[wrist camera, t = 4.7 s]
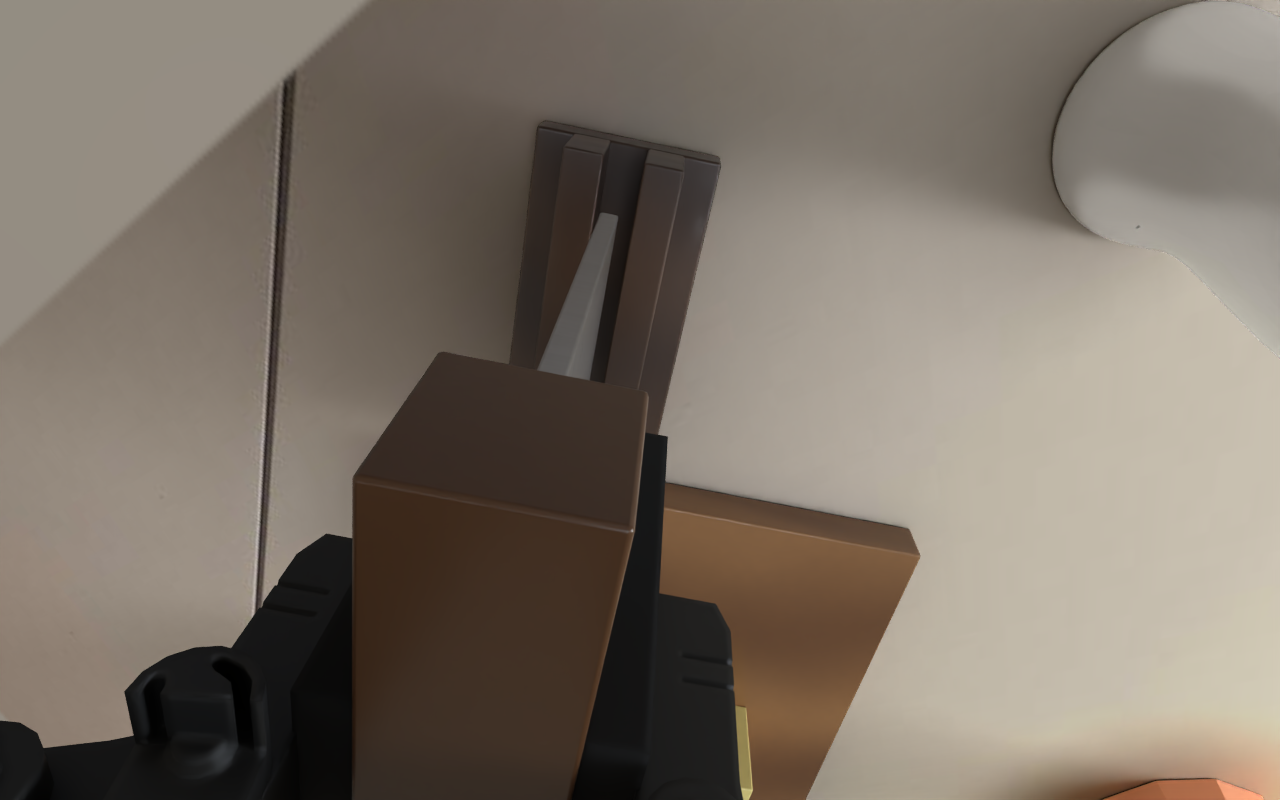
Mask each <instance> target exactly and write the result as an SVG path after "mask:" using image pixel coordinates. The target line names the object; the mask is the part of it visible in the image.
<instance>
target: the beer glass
mask: <svg viewBox="0 0 1280 800" xmlns="http://www.w3.org/2000/svg"><path fill="white" fill-rule="evenodd" d="M1052 167H1053V175H1054V180H1055V184H1056V187H1057V190H1058V193H1059V195H1060V197H1061V199H1062V201H1063V203H1064V205H1065V206H1066V208H1067V209H1068V211H1069V212H1070V213H1071V215H1072V216H1073V217H1074V218H1075V219H1076V220H1077V221H1078V222H1079V223H1080V224H1082V225H1083V226H1084V227H1085V228H1087V229H1088V230H1090V231H1091V232H1093V233H1095V234H1097V235H1099V236H1101V237H1103V238H1106V239H1108V240H1111V241H1114V242H1117V243H1121V244H1125V245H1129V246H1133V247H1138V248H1143V249H1149V250H1154V251H1159V252H1164V253H1167V254H1169V255H1171V256H1173V257H1174V258H1176V259H1177V260H1179V261H1180V262H1182V263H1183V264H1184V265H1185V266H1186V267H1187V268H1188V269H1189V270H1190V271H1191V272H1192V273H1193V274H1194V275H1195V276H1196V277H1198V278H1199V279H1200V280H1201V281H1202V283H1203V284H1204V285H1205V286H1206V287H1207V288H1208V289H1209V290H1210V291H1211V292H1212V293H1213V294H1214V295H1215V296H1216V297H1217V298H1218V299H1219V300H1220V302H1221V303H1222V304H1223V305H1224V306H1225V307H1226V308H1227V309H1228V310H1229V311H1230V312H1231V313H1232V314H1233V315H1234V316H1235V317H1236V318H1237V319H1238V320H1239V321H1240V322H1241V323H1242V324H1243V325H1244V326H1245V327H1246V328H1247V329H1248V330H1249V331H1250V332H1251V333H1252V334H1253V335H1254V336H1255V337H1256V338H1257V339H1258V340H1259V341H1260V342H1261V343H1262V344H1263V345H1264V346H1265V347H1266V348H1267V349H1269V350H1270V351H1271V352H1272V353H1273V354H1274V355H1275V356H1277V357H1278V358H1279V359H1280V16H1278V15H1275V14H1273V13H1270V12H1268V11H1266V10H1263V9H1260V8H1257V7H1254V6H1251V5H1248V4H1244V3H1240V2H1233V1H1220V0H1213V1H1201V2H1195V3H1189V4H1185V5H1181V6H1178V7H1175V8H1172V9H1169V10H1166V11H1164V12H1161V13H1159V14H1156V15H1154V16H1152V17H1150V18H1148V19H1146V20H1144V21H1142V22H1141V23H1139V24H1137V25H1135V26H1134V27H1132V28H1131V29H1129V30H1128V31H1126V32H1125V33H1123V34H1122V35H1121V36H1119V37H1118V38H1117V39H1116V40H1114V41H1113V42H1112V43H1111V44H1110V45H1109V46H1107V47H1106V48H1105V49H1104V50H1103V51H1102V52H1101V53H1100V54H1099V55H1098V56H1097V57H1096V58H1095V59H1094V61H1093V62H1092V63H1091V64H1090V65H1089V66H1088V68H1087V69H1086V70H1085V71H1084V73H1083V74H1082V75H1081V77H1080V78H1079V80H1078V81H1077V83H1076V84H1075V86H1074V88H1073V89H1072V91H1071V93H1070V95H1069V96H1068V98H1067V100H1066V102H1065V105H1064V107H1063V109H1062V112H1061V114H1060V117H1059V120H1058V123H1057V127H1056V131H1055V135H1054V140H1053V149H1052Z"/></svg>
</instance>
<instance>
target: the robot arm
mask: <svg viewBox="0 0 1280 800" xmlns="http://www.w3.org/2000/svg"><path fill="white" fill-rule="evenodd" d="M667 440H668V437H666V436H661V435H656V434H651V433H646V432H645V438H644V448H643V458H642V467H641V477H640V487H639V497H638V506H637V516H636V526H635V533H634V537H633V541H632V546H631V550H630V554H629V558H628V563H627V567H626V571H625V575H624V580H623V584H622V588H621V592H620V596H619V601H618V605H617V609H616V613H615V618H614V622H613V626H612V630H611V635H610V639H609V643H608V647H607V652H606V656H605V660H604V664H603V668H602V673H601V677H600V681H599V685H598V690H597V694H596V698H595V702H594V707H593V711H592V715H591V719H590V724H589V728H588V732H587V736H586V740H585V745H584V749H583V753H582V757H581V762H580V766H579V770H578V774H577V779H576V783H575V787H574V791H573V796H572V800H743V796H742V790H741V785H740V774H739V758H738V741H737V725H736V708H735V692H734V691H733V688H734V676H733V667H732V661H733V659H732V643H731V631H730V629H729V627H728V625H727V623H726V621H725V620H724V618H723V616H722V614H721V612H720V610H719V608H718V606H717V605H716V604H715V603H710V602H704V601H699V600H693V599H688V598H683V597H677V596H672V595H666V594H661V593H659V590H660V571H661V553H662V534H663V515H664V496H665V477H666V459H667ZM124 692H125V697H126V701H127V706H128V711H129V715H130V720H131V724H132V729H133V734H134V736H130V737H125V738H120V739H115V740H110V741H102V742H93V743H84V744H76V745H67V746H59V747H50V748H43V746H42V744H41V741H40V739H39V736H38V734H37V733H36V732H34V731H33V730H31V729H29V728H28V727H26V726H24V725H23V724H21V723H18V722H8V721H0V800H352V538H347V537H341V536H336V535H331V534H325V535H324V536H322V537H321V538H319V539H318V540H317V541H315V542H314V543H312V544H311V545H309V546H308V547H306V548H305V549H303V550H302V551H300V552H299V553H297V554H296V556H295V557H294V559H293V560H292V562H291V563H290V565H289V566H288V567H287V569H286V570H285V572H284V573H283V575H282V576H281V577H280V579H279V581H278V585H277V586H274V588H273V589H272V590H271V592H270V593H269V595H268V596H267V598H266V599H265V600H264V602H263V606H262V608H259V609H258V611H257V612H256V613H255V615H254V616H253V618H252V619H251V621H250V622H249V623H248V625H247V626H246V628H245V629H244V631H243V632H242V634H241V635H240V636H239V638H238V639H237V641H236V642H235V644H234V645H233V646H232V648H227V647H223V646H213V647H197V648H192V649H189V650H186V651H183V652H179V653H176V654H173V655H170V656H167V657H165V658H164V659H162V660H161V661H159V662H157V663H156V664H154V665H153V666H151V667H149V668H148V669H146V670H144V671H143V672H142V673H141V674H140V675H139V676H138V677H137V678H136V679H135V680H134V682H133V683H132V684H131V685H130V686H129V687H128V688H127V689H126V690H125V691H124Z"/></svg>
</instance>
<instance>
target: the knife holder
mask: <svg viewBox="0 0 1280 800" xmlns="http://www.w3.org/2000/svg"><path fill="white" fill-rule="evenodd" d="M720 169H721V162H720V158H719V157H718V156H713V155H708V154H703V153H698V152H694V151H689V150H684V149H679V148H674V147H670V146H665V145H660V144H655V143H650V142H646V141H641V140H636V139H631V138H626V137H622V136H617V135H612V134H607V133H602V132H598V131H593V130H588V129H583V128H578V127H574V126H569V125H564V124H559V123H554V122H550V121H544V122H542V123H541V124H540V125H539V126H538V127H537V134H536V143H535V151H534V160H533V168H532V177H531V185H530V194H529V202H528V210H527V219H526V227H525V236H524V244H523V253H522V261H521V270H520V278H519V287H518V295H517V304H516V312H515V320H514V329H513V337H512V346H511V354H510V363H509V365H514V366H519V367H524V368H529V369H534V370H537V369H538V366H539V364H540V362H541V359H542V357H543V354H544V352H545V349H546V347H547V344H548V342H549V339H550V337H551V334H552V332H553V329H554V327H555V324H556V322H557V319H558V317H559V314H560V312H561V309H562V307H563V304H564V302H565V299H566V297H567V294H568V292H569V290H570V287H571V285H572V282H573V280H574V277H575V275H576V272H577V270H578V267H579V265H580V262H581V260H582V257H583V255H584V252H585V250H586V247H587V245H588V242H589V240H590V237H591V235H592V232H593V230H594V227H595V225H596V222H597V220H598V217H599V215H600V213H607V214H612V215H616V216H618V222H617V227H616V233H615V239H614V244H613V250H612V256H611V261H610V267H609V273H608V278H607V284H606V290H605V295H604V301H603V307H602V312H601V318H600V324H599V329H598V335H597V341H596V346H595V352H594V358H593V363H592V369H591V375H590V381H596V382H601V383H606V384H611V385H616V386H621V387H626V388H631V389H636V390H642V391H645V392H647V393H648V397H649V400H648V409H647V419H646V429H645V432H646V433H651V434H656V435H658V432H659V428H660V424H661V420H662V415H663V411H664V407H665V403H666V398H667V394H668V390H669V386H670V381H671V377H672V373H673V369H674V364H675V360H676V356H677V352H678V347H679V343H680V339H681V335H682V330H683V326H684V322H685V318H686V313H687V309H688V305H689V301H690V296H691V292H692V288H693V284H694V279H695V275H696V271H697V267H698V262H699V258H700V254H701V250H702V245H703V241H704V237H705V232H706V228H707V224H708V220H709V215H710V211H711V207H712V203H713V198H714V194H715V190H716V186H717V181H718V177H719V173H720Z"/></svg>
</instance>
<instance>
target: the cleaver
mask: <svg viewBox="0 0 1280 800" xmlns="http://www.w3.org/2000/svg"><path fill="white" fill-rule="evenodd" d="M617 222H618V216H616V215H612V214H607V213H600V215H599V217H598V220H597V222H596V225H595V227H594V230H593V232H592V235H591V237H590V240H589V242H588V245H587V247H586V250H585V252H584V255H583V257H582V260H581V262H580V265H579V267H578V270H577V272H576V275H575V277H574V280H573V282H572V285H571V287H570V290H569V292H568V294H567V297H566V299H565V302H564V304H563V307H562V309H561V312H560V314H559V317H558V319H557V322H556V324H555V327H554V329H553V332H552V334H551V337H550V339H549V342H548V344H547V347H546V349H545V352H544V354H543V357H542V359H541V362H540V364H539V366H538V369H537V370H534V369H529V368H524V367H519V366H514V365H509V364H503V363H498V362H493V361H488V360H483V359H478V358H473V357H468V356H462V355H457V354H452V353H447V352H440V353H438V354H437V356H436V357H435V359H434V360H433V362H432V363H431V365H430V366H429V367H428V369H427V370H426V372H425V373H424V375H423V376H422V378H421V379H420V380H419V382H418V383H417V385H416V386H415V388H414V389H413V391H412V392H411V393H410V395H409V396H408V398H407V399H406V401H405V402H404V404H403V405H402V406H401V408H400V409H399V411H398V412H397V414H396V415H395V417H394V418H393V420H392V421H391V422H390V424H389V425H388V427H387V428H386V430H385V431H384V433H383V434H382V435H381V437H380V438H379V440H378V441H377V443H376V444H375V446H374V447H373V448H372V450H371V451H370V453H369V454H368V456H367V457H366V459H365V460H364V461H363V463H362V464H361V466H360V467H359V469H358V470H357V472H356V473H355V475H354V476H353V516H352V800H572V796H573V791H574V787H575V783H576V779H577V774H578V770H579V766H580V762H581V757H582V753H583V749H584V745H585V740H586V736H587V732H588V728H589V724H590V719H591V715H592V711H593V707H594V702H595V698H596V694H597V690H598V685H599V681H600V677H601V673H602V668H603V664H604V660H605V656H606V652H607V647H608V643H609V639H610V635H611V630H612V626H613V622H614V618H615V613H616V609H617V605H618V601H619V596H620V592H621V588H622V584H623V580H624V575H625V571H626V567H627V563H628V558H629V554H630V550H631V546H632V541H633V537H634V533H635V526H636V516H637V506H638V497H639V487H640V477H641V467H642V458H643V448H644V438H645V429H646V419H647V409H648V400H649V397H648V393H647V392H645V391H642V390H636V389H631V388H626V387H621V386H616V385H611V384H606V383H601V382H596V381H590V375H591V369H592V363H593V358H594V352H595V346H596V341H597V335H598V329H599V324H600V318H601V312H602V307H603V301H604V295H605V290H606V284H607V278H608V273H609V267H610V261H611V256H612V250H613V244H614V239H615V233H616V227H617Z"/></svg>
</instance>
